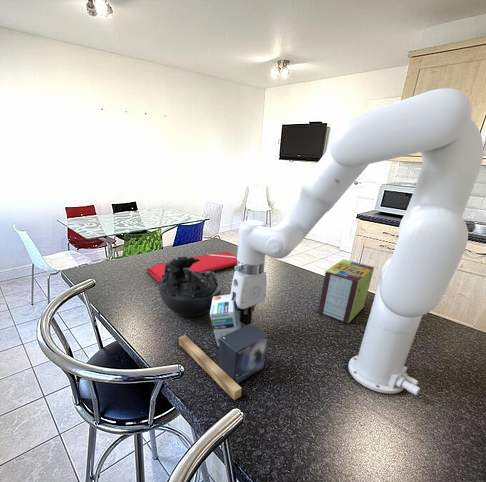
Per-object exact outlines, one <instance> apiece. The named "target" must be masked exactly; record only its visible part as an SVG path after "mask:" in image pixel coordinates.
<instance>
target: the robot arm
mask: <svg viewBox="0 0 486 482" xmlns="http://www.w3.org/2000/svg"><path fill="white" fill-rule="evenodd" d="M472 114H473V107H472V102H471V99H470V98H469V97H468V95H467V94H466V93H464V92H463V91H462V90H459V89H458V88H457V89H456V88H452V87H451V88H450V87H443V88H442V87H441V88H436V89H435V88H434V89H432V90H431V89H430V90H428V91H425V92H422V93H418V94H416V95H413V96H411V97H408V98H404V99H401V100H399V101H395V102H392V103H390V104H386V105H383V106H380V107H377V108H374V109H370V110H368V111H364V112H361V113H358V114H355V115H352V116H350V117H348V118H346V119H344V120H343V121H342V122H341V123H340V124H338V126H337V127H336V128H335V129H334V131H333V132H332V135H331V137H330V141H329V147H328V148H327V149H326V151H325V152H324V153H323V155H322V157H320V159H319V160H318V162H317V163H316V164H315V166H314V167H313V169H312V170H311V171H310V172H309V173H308V175H307V176H306V177H305V179H304V181H303V182H302V184H301V188H300V193H299V196H298V197H297V200H296V201H295V203H294V204H293V206H292V208H291V209H290V210H289V212H287V214H286V215H285V217H283V219H282V220H281V221H280V223H278V224H277V225H275V226H270V227H269V225H268V224H267V223H266V222H265V221H261V220H259V219H248V220H243V221H242V222H241V223H240V224H239V228H238V239H237V253H236V256H237V265H234V266H233V267H234V268H233V270H234V272H233V278H232V281H231V286H230V294H231V296H230V300H232V298H234V300H233V301H234V306H235V309H236V311H238V312H239V313H240V314H239V319H240V323H241V324H242V325H244V326H246V325H248V324H252V316H253V313H254V311H255V308H256V306H257V305H259V304H262V303H263V302H264V301H266V297H267V286H268V285H267V284H268V283H267V281H268V280H267V271H266V269H265V263H266V257H269V258H273V259H284V258H286V257H287V256H289V255H290V254H292V252H293V251H294V250H295V249H296V248H297V247H298V246H299V245H300V244H301V243H302V242H303V240H304V239H305V238H306V237H307V236H308V234H310V232H311V231H313V228H314V227H315V226H316V225H317V224H318V223H319V221H320V220H321V219H322V218H323V217H324V216H325V215H326V214H327V213H328V212H329V211H331V210H332V209H333V207H334V206H335V205H336V204H337V203H338V202H339V200H340V199H341V198H342V196H344V194H345V193H346V192H347V191H348V189H350V187H351V186H352V185H353V184H354V182H356V181H357V179H358V178H359V177H360V176H361V175H362V174H363V173H364V171H365V170H366V169H367V167H368V166H369V165H370V164H371V165H372V164H377V163H380V162H385V161H389V160H393V159H397V158H402V157H405V156H410V155H415V154H418V153H420V154H421V167H420V171H419V174H418V177H417V180H416V184H415V186H414V189H413V192H412V195H411V198H410V200H409V203H408V205H407V208H406V210H405V212H404V215H403V216H402V218H401V220H400V223H399V226H398V238H397V241H396V244H395V247H394V249H393V253H392V255H391V257H389V258H388V259H386V261H385V263H384V264H383V266H382V267H381V270H380V273H379V277H378V281H377V284H376V285H377V286H376V290H375V293H374V298H373V302H372V304H371V309H370V313H369V316H368V319H367V324H366V326H365V329H364V334H363V337H362V341H361V344H360V347H359V351H358V354H357V355H355V356H352V357H351V358H350V360H348V364H347V365H348V366H347V368H348V369H347V370H348V372H349V373H350V375H351V377H352V378H353V379H354V380H355V381H356V382H357V383H359V384H360V385H362V386H363V387H365V388H367V389H369V390H372V391H374V392H377V393H381V394H387V395H388V394H389V395H391V394H398V393H401V392H402V391H404V389H405V390H406V391H407V392H408V393H411V394H412V395H414V396H418V395H419V393H420V391H421V387H419V386H418V384H419V380H417V379H415V378H414V377H411V376H409V374H408V373H407V372H408V371H407V370H408V367H407V366H406V365H405V364H406V361H407V359H408V356H409V353H410V352H411V351H410V350H411V349H412V346H413V342H414V340H415V337H416V334H417V332H418V330H419V327H420V324H421V321H422V318H423V316H424V315H426V314H429V313H430V312H431V311H433V310H434V309H435V308H436V307H437V306H438V305H439V303H440V302H441V301H442V299H443V296H444V295H445V293H446V291H447V289H448V287H449V285H450V283H451V281H452V278H453V276H454V275H455V273H456V270H457V268H458V266H459V264H460V262H461V260H462V258H463V255H464V254H465V251H466V248H467V245H468V241H469V229H468V225H467V223H466V221H465V220H464V218H463V216H464V215H463V214H464V212H465V209H466V207H467V205H468V202H469V200H470V197H471V195H472V193H473V189H474V187H475V184H476V182H477V180H478V177H479V174H480V171H481V168H482V164H483V159H484V142H483V141H484V140H483V138H482V134H481V132H480V129H479V127H478V125H477V123H476V122H475V120H474V119H473V118H472Z"/></svg>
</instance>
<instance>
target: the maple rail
mask: <svg viewBox="0 0 486 482" xmlns="http://www.w3.org/2000/svg"><path fill="white" fill-rule="evenodd" d="M178 343H179V344H178V345H179V346H180V347H181V348H182V349H183V350H184V351H185V352H186V353H187V354H188V355H189V356H190V358H192V359H193V360H194V361H195V362H196V363H197V364H198V365H199V366H200V367H201V369H203V371H204V372H205V373H206V374H208V376H209V377H211V379H213V380H214V382H215V383H216V384H217V385H218V386H219V387H220V388H221V389H222V390H223V391H224V392H225V393H226V394H227V395H228V396H229V397H230V398H231V399H232V400H233V401H236V400H237V399H239V398H241V397H242V392H243V391H242V390H243V388H242V387H241V386H240V385H239V383H238V384H237V383H236V382H235V381H234V380H233V379H232V378H230V377H229V376H228V375H227V374H226V373H225V372H224V371H223V370H222V369H221V368H220V367H219V366H218V363H216V362H215V361H214V360H213V359H211V358H210V357H209V356H208V355H207V353H205V352H204V351H203V350H202V349H201V348H200V347H199V346H198V345H197V344H196V343H194V342H193V341H192V340H191V339H190V337H188V336H187V335H186V334H184V335H181V336H179V337H178Z"/></svg>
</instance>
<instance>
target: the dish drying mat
mask: <svg viewBox="0 0 486 482" xmlns="http://www.w3.org/2000/svg"><path fill="white" fill-rule="evenodd" d="M193 257H194V258H195V259H199V260H200V261H198V262H196V263H193V265H192V266H191V267H190V268H189V269H190V270H191V271H197V272H205V271H210V270H211V269H213V270H214V272H215V271H219V270H223V269H226V268H230V267H235V266H237V255H235V254H232V253H231V252H226V251H220V252H219V251H218V252H213V253H207V254H204V255H197V256H193ZM168 262H169V261H168ZM168 262H161V263H158V264H154V265H153V266H151V267H147V268H146V271H147V273H148V274H150V275H151V276H152V277H153V278H154V280H156V281H157V283H158V284H160V283H161V280H162V275H163V274H164V270H165V264H167V263H168Z"/></svg>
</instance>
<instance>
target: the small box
mask: <svg viewBox="0 0 486 482" xmlns="http://www.w3.org/2000/svg"><path fill="white" fill-rule="evenodd" d="M268 337H269V335H268V334H267V333H266V332H264V331H262V330H261V329H259V328H258V327H257V326H255V325H254V324H252V323H251V324H248V325H244V326H241V328H240V329H237V330H235V331H233V332H231V333H229V334H227V335H224V336H222V337H220V338H219V347H218V358H217V359H218V360H217V365H218V366H219V367H220V368H221V369H222V370H223V371H224V372H225V373H226V374H227V375H228V376H229V377H230V378H232V379H233V380H234V381H235V382H236V383H237V384H238V385H239V383H241V382H243V381H245V380H246V379H248V378H250V377H251V376H253V375H254V374H256V373H258V372H260V371H262V370H263V369H264V368H265V367H264V366H265V358H266V350H267V343H268Z"/></svg>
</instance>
